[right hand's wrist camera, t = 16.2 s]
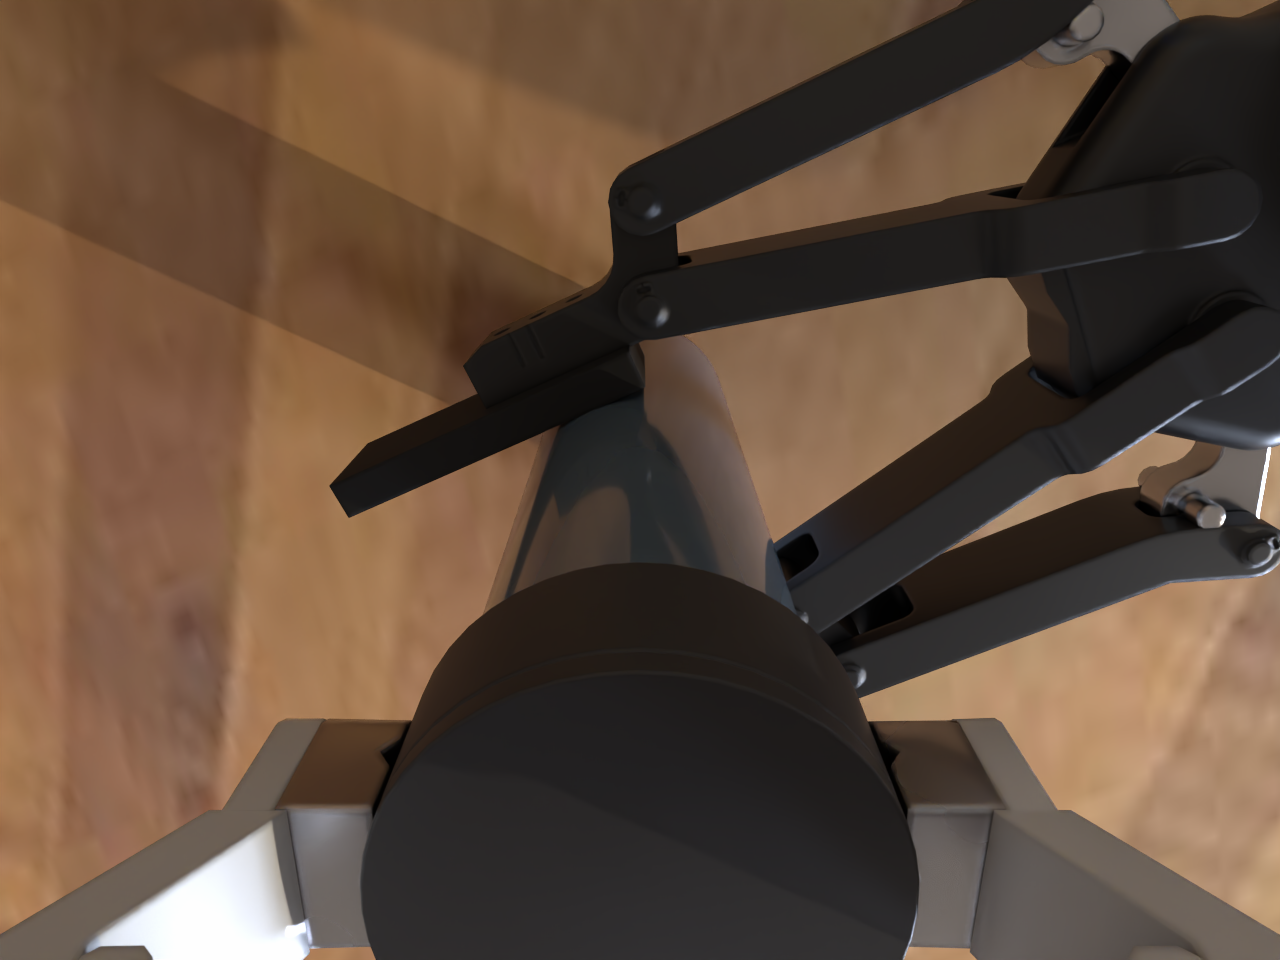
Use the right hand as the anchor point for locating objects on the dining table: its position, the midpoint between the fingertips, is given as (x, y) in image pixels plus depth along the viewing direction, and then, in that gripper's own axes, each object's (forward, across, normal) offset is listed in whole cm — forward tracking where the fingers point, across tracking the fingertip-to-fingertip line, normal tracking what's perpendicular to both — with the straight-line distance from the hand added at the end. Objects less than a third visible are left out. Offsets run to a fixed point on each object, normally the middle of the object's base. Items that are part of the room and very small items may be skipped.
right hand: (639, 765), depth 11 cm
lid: (-2, 0, 0) cm, 2 cm away
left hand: (+9, -5, -2) cm, 11 cm away
